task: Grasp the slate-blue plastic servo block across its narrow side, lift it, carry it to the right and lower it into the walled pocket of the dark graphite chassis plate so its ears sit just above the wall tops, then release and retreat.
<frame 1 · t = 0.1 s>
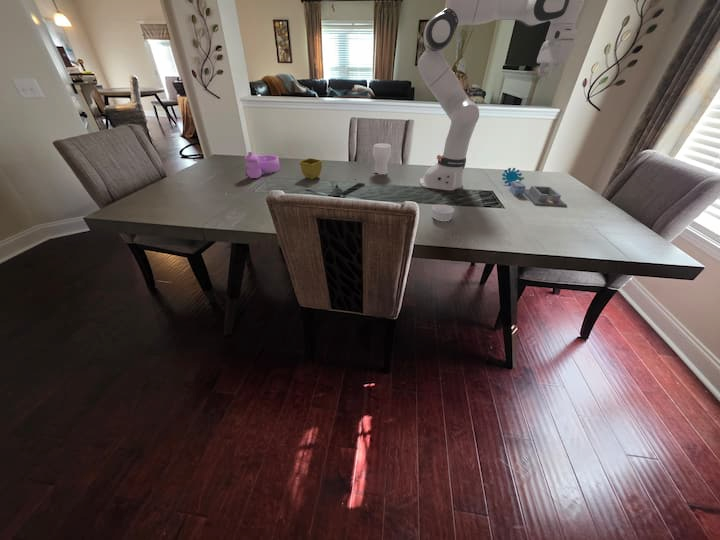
hand: (545, 77, 119), 48 cm above the table, fingers open, 8 cm apart
servo: (515, 193, 141), on the table
container set: (262, 172, 162), on the table
blue virus model: (510, 184, 152), on the table
chassis: (542, 198, 136), on the table
flower pot: (312, 178, 156), on the table
ramekin: (441, 218, 118), on the table
cup: (380, 173, 164), on the table
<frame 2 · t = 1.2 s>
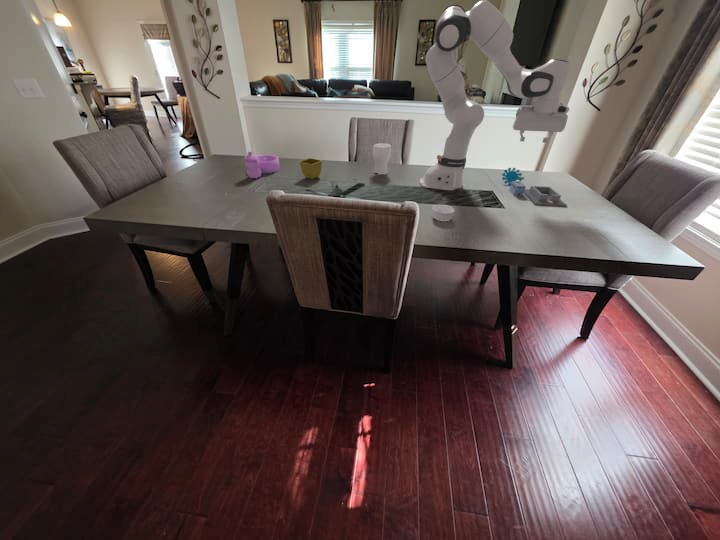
hand: (533, 141, 128), 24 cm above the table, fingers open, 8 cm apart
nothing on the table moved.
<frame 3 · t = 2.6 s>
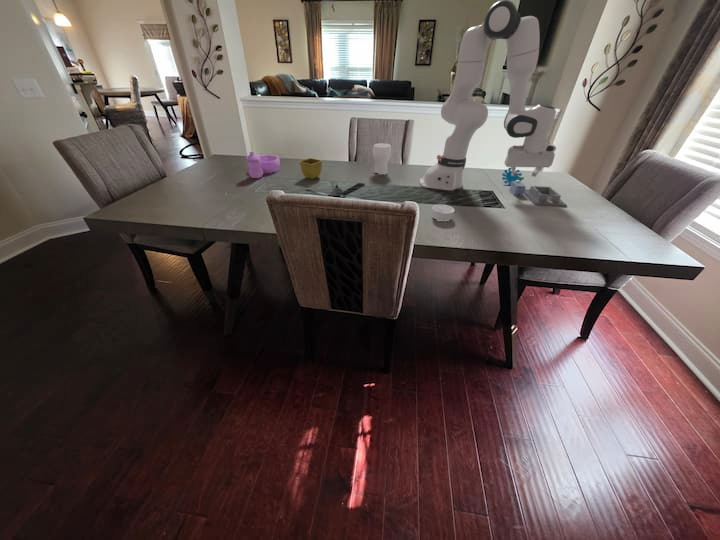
hand: (523, 176, 136), 9 cm above the table, fingers open, 8 cm apart
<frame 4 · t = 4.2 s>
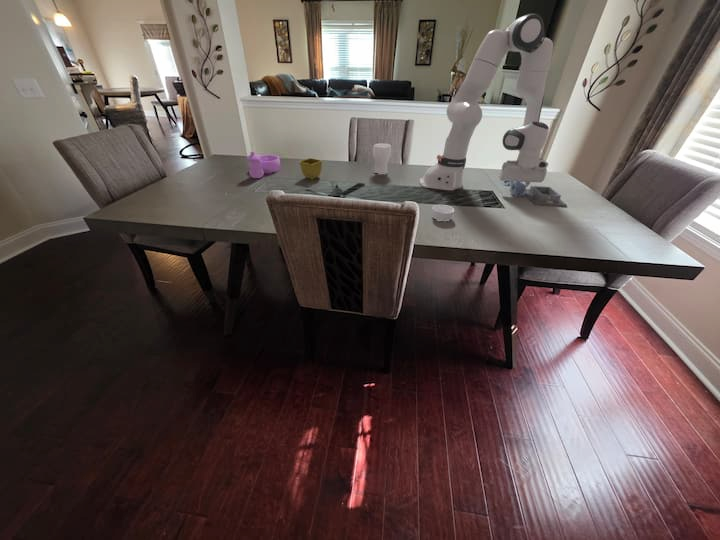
hand: (516, 189, 140), 2 cm above the table, fingers closed on servo, 4 cm apart
servo: (515, 193, 141), on the table, touching gripper
everything else where it was.
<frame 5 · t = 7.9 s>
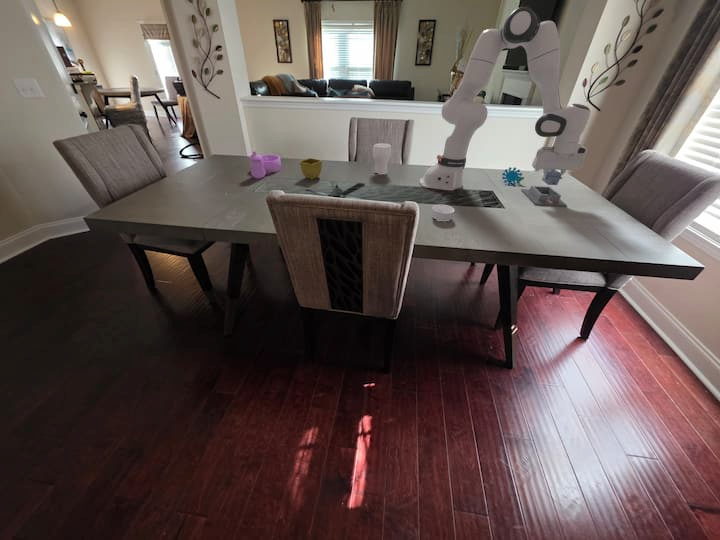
hand: (550, 178, 131), 9 cm above the table, fingers closed on servo, 4 cm apart
servo: (549, 182, 132), point 8 cm above the table, touching gripper
when the fingers open (4 cm above the table, at t = 9.6 s): servo drops 2 cm, resting on chassis.
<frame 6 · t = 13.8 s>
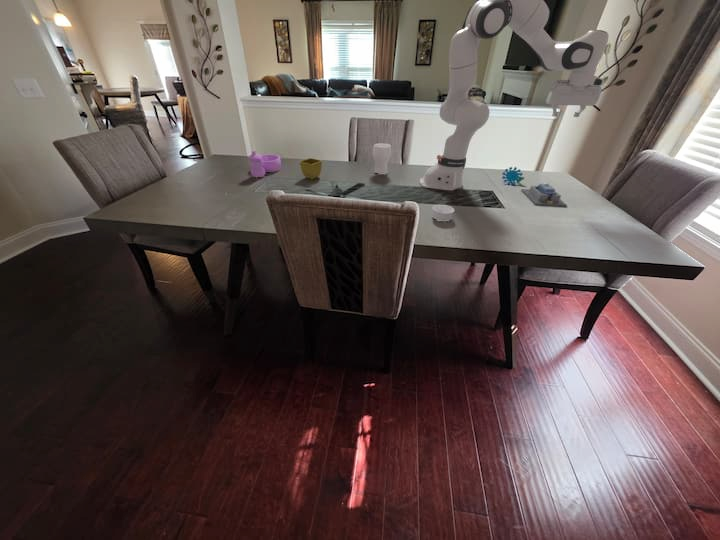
hand: (565, 116, 128), 33 cm above the table, fingers open, 8 cm apart
servo: (543, 196, 136), point 1 cm above the table, touching chassis
at the end: servo 0.1 cm off-centre on the chassis, point 0.8 cm above the chassis's base; servo tilted 0°; the gripper is holding nothing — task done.
